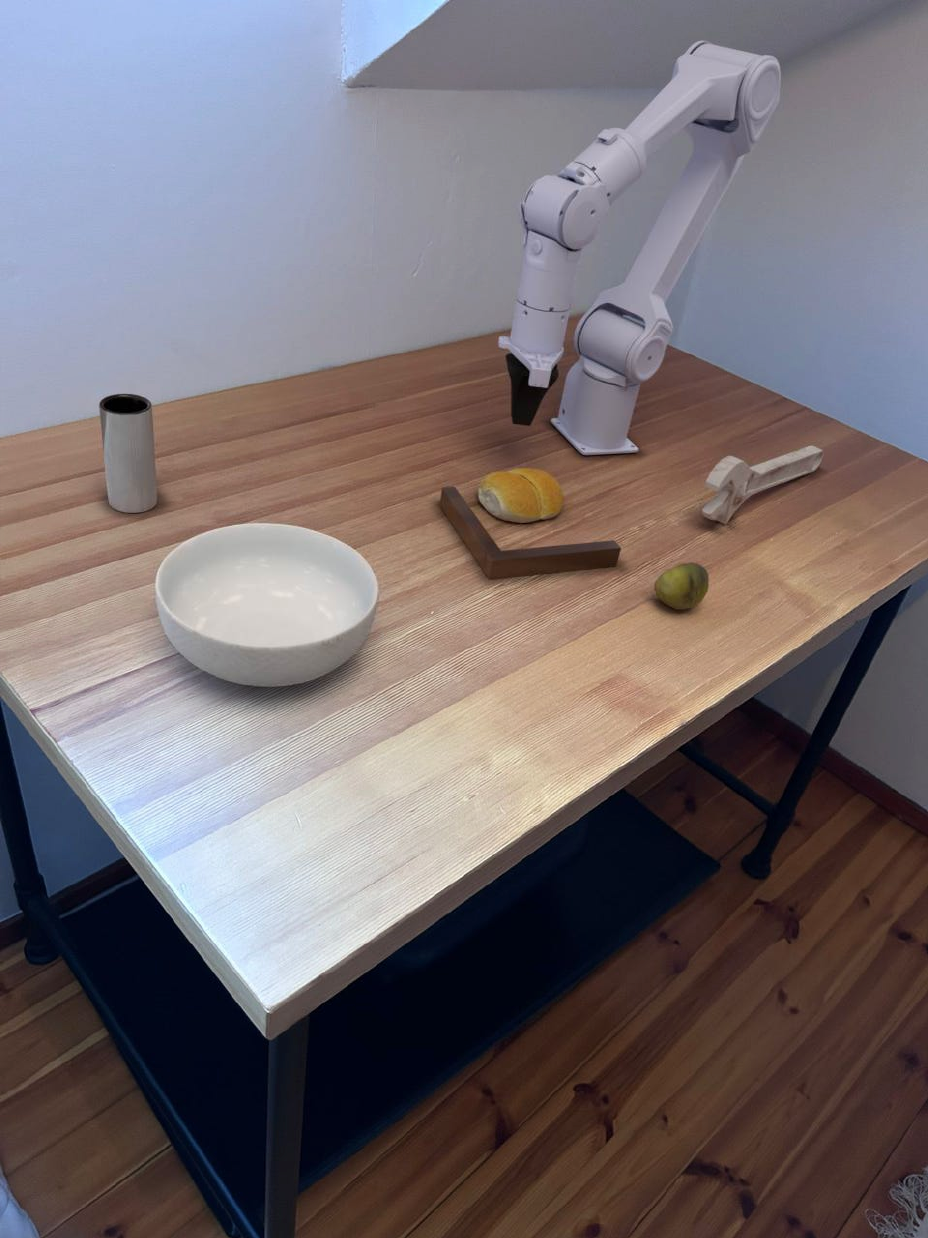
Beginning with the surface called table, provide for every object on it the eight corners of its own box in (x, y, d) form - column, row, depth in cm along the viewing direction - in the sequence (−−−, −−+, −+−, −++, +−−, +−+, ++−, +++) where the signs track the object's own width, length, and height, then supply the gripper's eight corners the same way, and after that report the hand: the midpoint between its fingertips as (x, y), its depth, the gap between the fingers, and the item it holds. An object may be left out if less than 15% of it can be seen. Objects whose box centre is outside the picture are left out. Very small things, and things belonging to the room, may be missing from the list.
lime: (644, 604, 90) (657, 560, 87) (669, 586, 93) (683, 543, 90) (684, 626, 88) (699, 582, 85) (708, 607, 91) (724, 564, 88)
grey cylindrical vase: (167, 500, 93) (162, 402, 87) (135, 518, 90) (128, 418, 84) (130, 485, 94) (123, 388, 88) (98, 503, 91) (87, 404, 85)
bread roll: (574, 516, 102) (582, 484, 100) (507, 531, 97) (514, 497, 95) (530, 481, 107) (536, 449, 105) (464, 493, 103) (469, 460, 100)
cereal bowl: (179, 737, 68) (175, 661, 64) (144, 603, 80) (139, 532, 75) (400, 698, 74) (410, 627, 70) (338, 580, 86) (343, 513, 82)
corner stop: (439, 505, 100) (441, 487, 98) (556, 497, 105) (560, 479, 104) (489, 579, 90) (492, 560, 88) (616, 566, 95) (621, 547, 94)
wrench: (809, 489, 122) (700, 535, 101) (797, 483, 123) (686, 528, 102) (835, 430, 118) (727, 466, 97) (822, 425, 119) (712, 459, 98)
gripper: (502, 276, 104) (483, 392, 112) (510, 321, 92) (488, 446, 100) (564, 285, 105) (541, 399, 113) (580, 330, 93) (553, 454, 101)
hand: (520, 422), depth 107 cm, fingers closed
